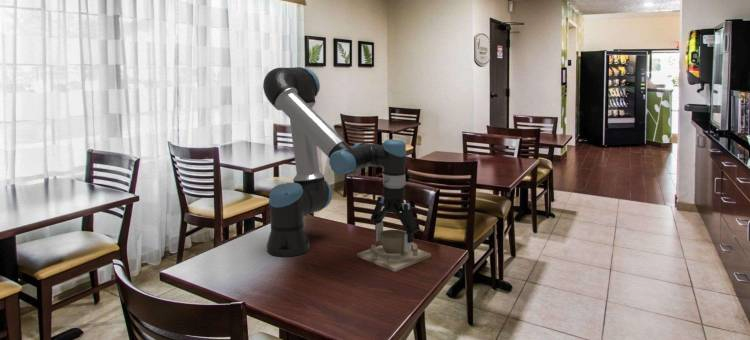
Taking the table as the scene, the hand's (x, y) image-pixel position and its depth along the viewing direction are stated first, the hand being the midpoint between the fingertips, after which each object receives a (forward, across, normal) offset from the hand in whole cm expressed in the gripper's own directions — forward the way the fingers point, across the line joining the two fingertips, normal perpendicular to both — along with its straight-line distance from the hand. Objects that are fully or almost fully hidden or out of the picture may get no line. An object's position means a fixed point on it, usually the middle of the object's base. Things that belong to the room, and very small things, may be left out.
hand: (393, 245), depth 171 cm
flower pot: (+3, 0, 0) cm, 3 cm away
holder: (+4, 0, 0) cm, 4 cm away
